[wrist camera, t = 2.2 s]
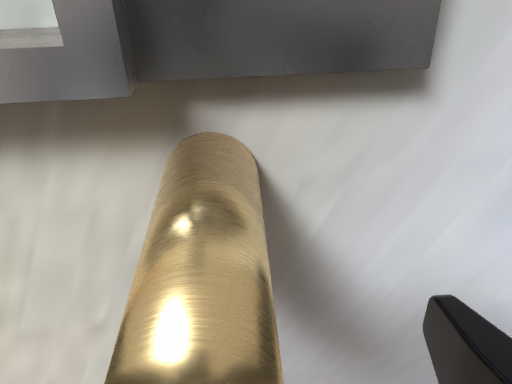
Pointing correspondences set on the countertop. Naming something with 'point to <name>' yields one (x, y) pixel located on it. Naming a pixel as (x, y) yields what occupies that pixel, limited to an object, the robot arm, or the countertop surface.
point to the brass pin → (202, 276)
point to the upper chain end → (72, 56)
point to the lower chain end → (273, 36)
